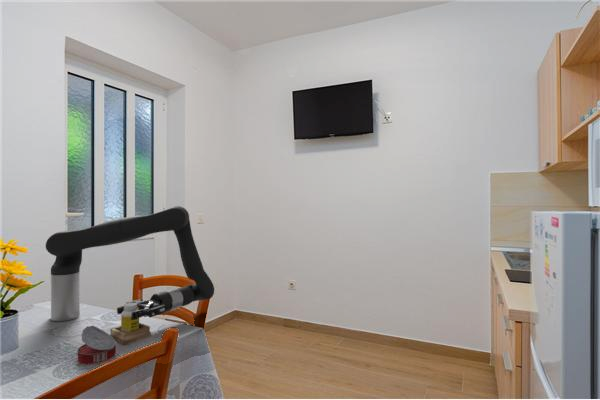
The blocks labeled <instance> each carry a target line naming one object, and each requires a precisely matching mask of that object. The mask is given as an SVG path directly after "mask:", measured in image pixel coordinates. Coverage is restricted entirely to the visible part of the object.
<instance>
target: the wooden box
mask: <svg viewBox="0 0 600 400" xmlns="http://www.w3.org/2000/svg"><path fill="white" fill-rule="evenodd" d="M150 328H151V327H150V325H147V324H144V323H141V322H139V329H138V330H135V331H132V332H129V333H124V332H121V325H118V326H115V327H112V328H110V334H109V335H110V336H112V337H113V338H114V339H115V341H116V343H119V344H120V345H123V346H127V345H130V344H134V343H135V342H138V341H141V340H143V339H146V338H149V337H152V331H150V330H151V329H150Z"/></svg>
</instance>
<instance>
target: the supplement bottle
mask: <svg viewBox="0 0 600 400" xmlns="http://www.w3.org/2000/svg"><path fill="white" fill-rule="evenodd" d="M123 306H124V311H123V312H122V314H120V315H121V316H120V319H121V321H120V324H121V325H120V326H121V332H124V333H129V332H132V331H135V330H138V329H139V323H140V318H137V319H132V312H135V311H138V310H137V309H138V307H137V303H127V304H126V303H125V304H123ZM136 308H137V309H136Z"/></svg>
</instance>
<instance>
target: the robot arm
mask: <svg viewBox="0 0 600 400" xmlns="http://www.w3.org/2000/svg"><path fill="white" fill-rule="evenodd" d="M172 231H173V233H174V235H175V237H176V240H177V243H178V249H179V253H180V260H181V264H182V267H183V269H184V272H185V275H186V277H187V279H188V280H190V281H191V280H192V281H194V283H192V284H189V285H186V286H182V287H177V288H174V289H168V290H164V291H161V292H157V293H154V294H152V295H151V297H150V299H144V300H143V298H139V299H135V300H130V301H127V302H126V303H125V304H127V303H137V308H136V309H137V310H138V311H135V312H132V319H137V318H139V319H140V318H142V317H144V318H145V317H148V318H153V317H156V316H158V315H159V316H160V315H163V314H166V313H169V312H171V311H175V310H177V309H179V308H182V307H185V306H188V305H190V304H191V303H194V302H198V301H206V300H210V299H212V298H213V296H214V294H215V285H214V284H213V281H212V279H211V278H210V277H209V274H208V273H207V272H206V271H205V269H204V266H203V262H202V260H201V257H200V255H199V254H200V253H199V252H198V251H199V250H198V249H197V245H196V242H195V240H194V239H195V238H194V236H193V232H192V227H191V220H190V214H189V212H188V210H187V209H186V208H184V207H183V206H180V205H179V206H178V205H176V206H171V207H169V208H166V209H163V210H161V211H157V212H155V213H151V214H148V215H147V214H146V215H135V216H128V217H127V216H126V217H122V218H117V219H112V220H110V221H105V222H102V223H99V224H96V225H93V226H90V227H87V228H83V229H79V230H77V229H76V230H70V229H69V230H63V231H59V232H56V233H53V234H52V235H50V236H49V237H48V239H47V240H46V242H45V249H46V251H47V252H48V253H49V254H50V255H52V256H54V257H55V260H54V263H53V264H52V265H51V267H50V320H51V321H53V322H64V321H70V320H71V321H72V320H74V319H77V318H78V317H79V316H80V314H81V313H80V311H81V310H80V304H81V303H80V301H81V298H80V296H81V294H80V283H81V282H80V275H81V274H80V270H81V269H80V268H81V264H82V262H83V250H87V249H90V248H98V247H104V246H105V247H106V246H111V245H117V244H122V243H125V242H126V243H127V242H130V241H133V240H137V239H140V238H143V237H146V236H148V235H153V234H156V233H157V234H158V233H163V232H172ZM123 311H124V305H122V306H119V307H117V308H116V313H117V315H121V314H122V312H123Z"/></svg>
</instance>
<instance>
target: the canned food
mask: <svg viewBox="0 0 600 400" xmlns="http://www.w3.org/2000/svg"><path fill="white" fill-rule="evenodd" d="M81 340H82V342H83V343H84V344H83V345H81V346H80V347H78V349H77V362H78V364H79V363H80V364H82V365H96V364H101V363H104V362H106V361H109V360H111V359H113V358H114V357H115V356H116V355H117V342H116V341H115V339H114V338H113V337H112V336H110V334H109V333H107V332H106V331H104V330H103V329H100V328H99V327H97V326H95V325H89V326H88V325H87V326H86V327H85V328H84V329H82V332H81ZM115 354H116V355H115ZM112 357H113V358H112Z"/></svg>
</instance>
